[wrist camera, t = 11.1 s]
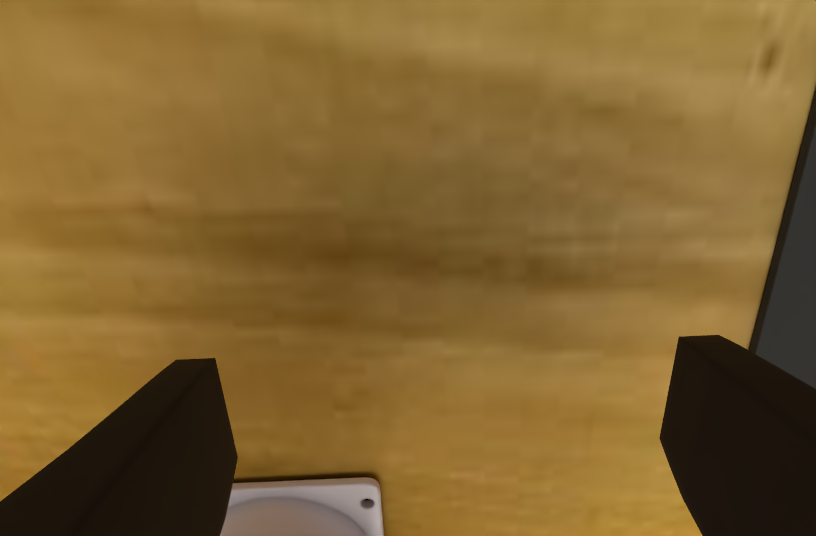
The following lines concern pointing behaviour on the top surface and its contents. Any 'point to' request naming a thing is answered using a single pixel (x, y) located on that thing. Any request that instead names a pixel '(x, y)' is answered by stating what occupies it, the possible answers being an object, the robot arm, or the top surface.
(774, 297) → the mat
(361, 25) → the top surface
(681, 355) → the robot arm
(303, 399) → the top surface
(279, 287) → the top surface
